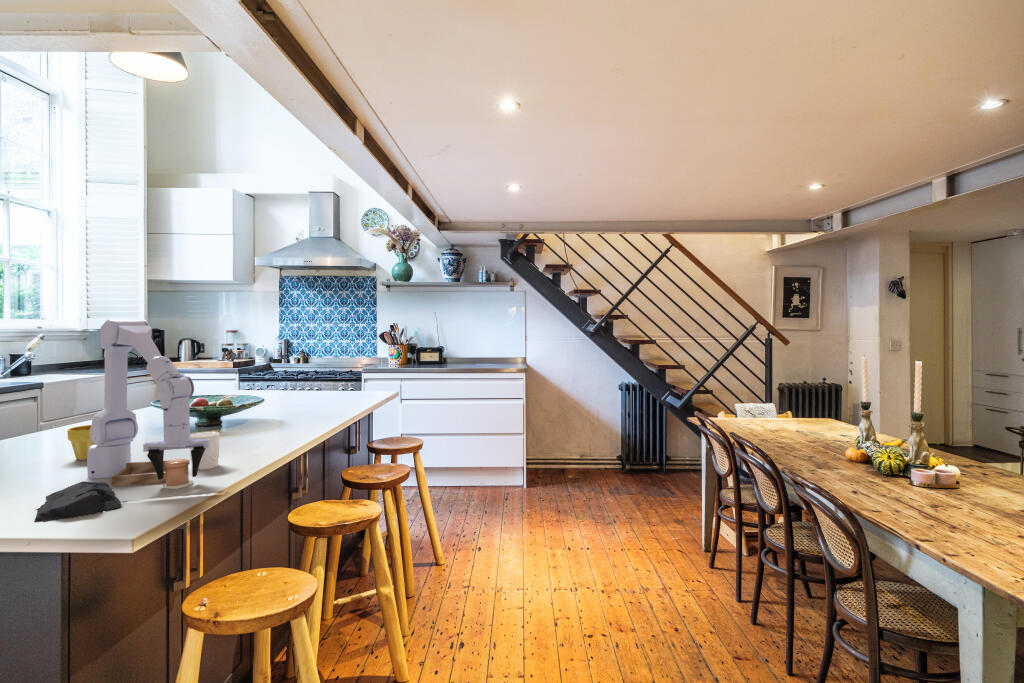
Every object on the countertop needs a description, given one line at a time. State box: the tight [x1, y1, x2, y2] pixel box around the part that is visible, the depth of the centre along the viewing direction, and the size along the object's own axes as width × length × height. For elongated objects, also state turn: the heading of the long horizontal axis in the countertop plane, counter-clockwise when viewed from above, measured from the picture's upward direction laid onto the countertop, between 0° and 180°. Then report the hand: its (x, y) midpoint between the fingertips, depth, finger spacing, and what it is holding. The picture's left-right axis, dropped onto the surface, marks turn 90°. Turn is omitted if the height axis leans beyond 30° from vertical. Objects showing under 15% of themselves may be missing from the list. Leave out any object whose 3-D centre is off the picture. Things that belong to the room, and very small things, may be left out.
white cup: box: [189, 431, 221, 471], centre depth 160 cm, size 8×8×10 cm
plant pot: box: [66, 424, 96, 459], centre depth 174 cm, size 10×10×10 cm
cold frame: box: [111, 458, 180, 487], centre depth 148 cm, size 14×11×4 cm
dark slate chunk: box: [34, 480, 122, 523], centre depth 128 cm, size 15×22×5 cm
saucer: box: [162, 479, 194, 490], centre depth 141 cm, size 8×8×1 cm
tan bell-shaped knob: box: [164, 458, 191, 486], centre depth 141 cm, size 6×6×6 cm
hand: (178, 477), depth 141 cm, fingers open, 7 cm apart
